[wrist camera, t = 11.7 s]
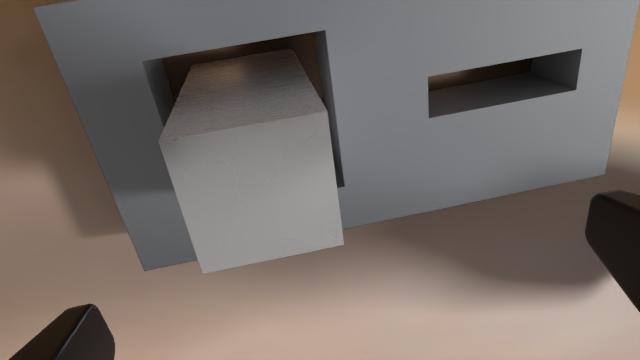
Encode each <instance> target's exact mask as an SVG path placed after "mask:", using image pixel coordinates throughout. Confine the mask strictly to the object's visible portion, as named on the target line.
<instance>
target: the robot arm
mask: <svg viewBox="0 0 640 360" xmlns="http://www.w3.org/2000/svg"><path fill="white" fill-rule="evenodd" d="M585 235H586V239H587V241H588V243H589V245H590V247H591V248H592V249H593V251H594V252H595V253H596V255H597V256H598V257H599V259H600V260H601V261H602V263H603V264H604V265H605V267H606V268H607V269H608V271H609V272H610V274H611V275H612V276H613V278H614V279H615V280H616V282H617V283H618V284H619V286H620V287H621V288H622V290H623V291H624V292H625V294H626V295H627V296H628V298H629V299H630V300H631V302H632V303H633V304H634V306H635V307H636V308H637V309H638V311H639V312H640V195H637V194H633V193H629V192H625V191H620V190H613V191H609V192H604V193H599V194H596V195H595V196H593V198H592V199H591V201H590V206H589V212H588V217H587V223H586V229H585ZM114 356H115V342H114V338H113V335H112V333H111V331H110V330H109V328H108V326H107V324H106V322H105V320H104V318H103V316H102V314H101V313H100V311H99V309H98V308H97V307H96V306H95V305H93V304H86V305H81V306H77V307H72V308H69V309H67V310H65V311H64V312H63V313H62V314H61V315H59V316H58V317H57V318H56V319H55V320H54V321H52V322H51V323H50V324H49V325H48V326H47V327H46V328H44V329H43V330H42V331H41V332H40V333H39V334H38V335H36V336H35V337H34V338H33V339H32V340H31V341H29V342H28V343H27V344H26V345H25V346H24V347H23V348H21V349H20V350H19V351H18V352H17V353H16V354H15V355H13V356H12V357H11V358H10V359H9V360H114Z"/></svg>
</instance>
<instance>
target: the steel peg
mask: <svg viewBox="0 0 640 360" xmlns="http://www.w3.org/2000/svg"><path fill="white" fill-rule="evenodd" d="M158 142H159V145H160V148H161V151H162V154H163V157H164V160H165V163H166V166H167V169H168V172H169V175H170V178H171V181H172V184H173V187H174V190H175V193H176V196H177V199H178V202H179V205H180V208H181V211H182V214H183V217H184V220H185V223H186V226H187V229H188V232H189V235H190V238H191V241H192V244H193V247H194V250H195V253H196V256H197V259H198V262H199V265H200V268H201V271H202V274H205V273H210V272H215V271H220V270H225V269H230V268H234V267H239V266H244V265H249V264H254V263H259V262H263V261H268V260H273V259H278V258H283V257H288V256H292V255H297V254H302V253H307V252H312V251H317V250H322V249H326V248H331V247H336V246H341V245H344V239H343V231H342V223H341V215H340V208H339V200H338V192H337V184H336V176H335V168H334V160H333V152H332V144H331V136H330V128H329V121H328V113H327V110H326V108H325V106H324V104H323V102H322V101H321V99H320V97H319V95H318V94H317V92H316V90H315V88H314V87H313V85H312V83H311V81H310V79H309V78H308V76H307V74H306V72H305V71H304V69H303V67H302V65H301V63H300V62H299V60H298V58H297V56H296V55H295V53H294V51H293V49H292V48H291V49H285V50H279V51H273V52H267V53H261V54H255V55H249V56H243V57H237V58H231V59H225V60H219V61H213V62H207V63H201V64H195V65H192V66H191V68H190V71H189V73H188V75H187V77H186V80H185V82H184V84H183V86H182V89H181V91H180V93H179V96H178V98H177V100H176V102H175V105H174V107H173V109H172V111H171V114H170V116H169V118H168V121H167V123H166V125H165V127H164V130H163V132H162V134H161V136H160V139H159V141H158Z"/></svg>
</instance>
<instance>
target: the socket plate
mask: <svg viewBox="0 0 640 360" xmlns="http://www.w3.org/2000/svg"><path fill="white" fill-rule="evenodd" d="M639 2H640V0H62V1H58V2H54V3H50V4H46V5H42V6H38V7H34V8H33V9H34V12H35V14H36V16H37V19H38V21H39V24H40V26H41V28H42V31H43V33H44V35H45V38H46V40H47V42H48V45H49V47H50V49H51V52H52V54H53V57H54V59H55V61H56V64H57V66H58V68H59V71H60V73H61V75H62V78H63V80H64V82H65V85H66V87H67V90H68V92H69V94H70V97H71V99H72V101H73V104H74V106H75V108H76V111H77V113H78V115H79V118H80V120H81V123H82V125H83V127H84V130H85V132H86V134H87V137H88V139H89V141H90V144H91V146H92V148H93V151H94V153H95V156H96V158H97V160H98V163H99V165H100V167H101V170H102V172H103V174H104V177H105V179H106V181H107V184H108V186H109V188H110V191H111V193H112V196H113V198H114V200H115V203H116V205H117V207H118V210H119V212H120V214H121V217H122V219H123V221H124V224H125V226H126V229H127V231H128V233H129V236H130V238H131V240H132V243H133V245H134V247H135V250H136V252H137V254H138V257H139V259H140V262H141V264H142V266H143V269H144V271H147V270H152V269H157V268H161V267H166V266H171V265H176V264H180V263H185V262H190V261H195V260H198V259H197V256H196V253H195V250H194V247H193V244H192V241H191V238H190V235H189V232H188V229H187V226H186V223H185V220H184V217H183V214H182V211H181V208H180V205H179V202H178V199H177V196H176V193H175V190H174V187H173V184H172V181H171V178H170V175H169V172H168V169H167V166H166V163H165V160H164V157H163V154H162V151H161V148H160V145H159V142H158V141H159V139H160V136H161V134H162V132H163V130H164V127H165V125H166V123H167V121H168V118H169V116H170V114H171V111H172V109H173V107H174V105H175V100H174V97H173V94H172V90H171V87H170V84H169V81H168V77H167V74H166V71H165V68H164V64H163V61H162V58H164V57H170V56H176V55H182V54H188V53H194V52H200V51H205V50H211V49H217V48H223V47H229V46H235V45H240V44H246V43H252V42H258V41H264V40H270V39H275V38H281V37H287V36H293V35H299V34H305V33H311V32H314V36H315V44H316V51H317V58H318V66H319V73H320V80H321V87H322V95H323V102H324V106H325V108H326V110H327V113H328V121H329V128H330V136H331V144H332V152H333V160H334V168H335V176H336V184H337V192H338V200H339V208H340V215H341V223H342V230H343V229H347V228H352V227H357V226H362V225H367V224H371V223H376V222H381V221H386V220H390V219H395V218H400V217H405V216H410V215H414V214H419V213H424V212H429V211H433V210H438V209H443V208H448V207H452V206H457V205H462V204H467V203H472V202H476V201H481V200H486V199H491V198H495V197H500V196H505V195H510V194H514V193H519V192H524V191H529V190H534V189H538V188H543V187H548V186H553V185H557V184H562V183H567V182H572V181H577V180H581V179H586V178H591V177H596V176H600V175H605V170H606V165H607V160H608V155H609V150H610V145H611V140H612V135H613V130H614V126H615V121H616V116H617V111H618V106H619V101H620V96H621V91H622V86H623V81H624V76H625V71H626V66H627V61H628V56H629V51H630V46H631V42H632V37H633V32H634V27H635V22H636V17H637V12H638V7H639ZM528 58H532V65H531V72H528V73H523V74H518V75H512V76H507V77H501V78H496V79H491V80H485V81H480V82H475V83H469V84H464V85H459V86H453V87H448V88H442V89H437V90H432V91H428V77H430V76H435V75H441V74H446V73H451V72H457V71H462V70H468V69H473V68H479V67H484V66H490V65H495V64H500V63H506V62H511V61H517V60H522V59H528Z"/></svg>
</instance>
